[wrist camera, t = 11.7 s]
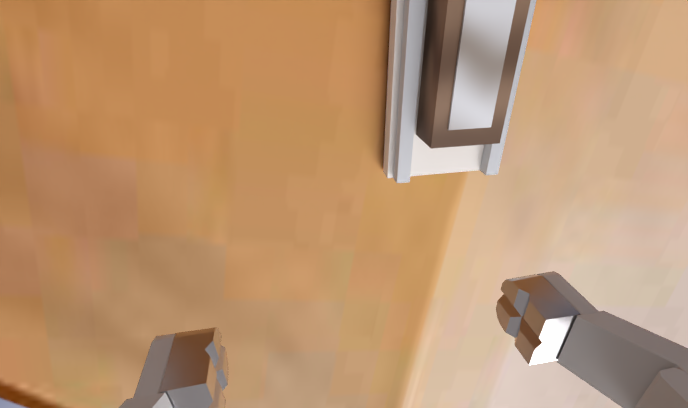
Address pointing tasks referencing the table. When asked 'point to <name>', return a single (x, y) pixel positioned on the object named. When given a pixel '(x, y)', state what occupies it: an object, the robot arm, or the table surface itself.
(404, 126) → the picture ledge
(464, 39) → the picture frame
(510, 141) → the table surface
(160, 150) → the table surface
